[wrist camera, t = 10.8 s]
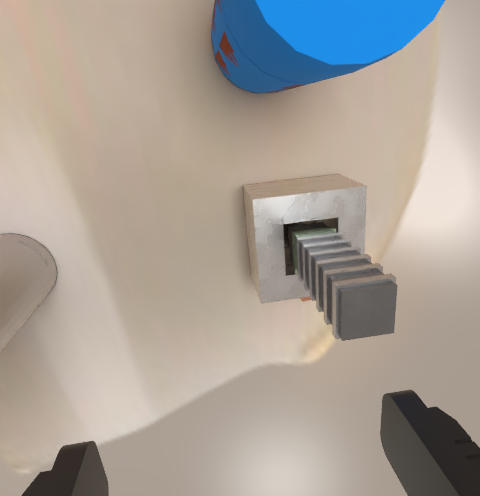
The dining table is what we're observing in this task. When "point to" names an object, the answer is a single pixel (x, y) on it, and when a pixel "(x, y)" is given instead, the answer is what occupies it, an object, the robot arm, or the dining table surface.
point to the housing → (292, 211)
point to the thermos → (310, 38)
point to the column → (343, 282)
